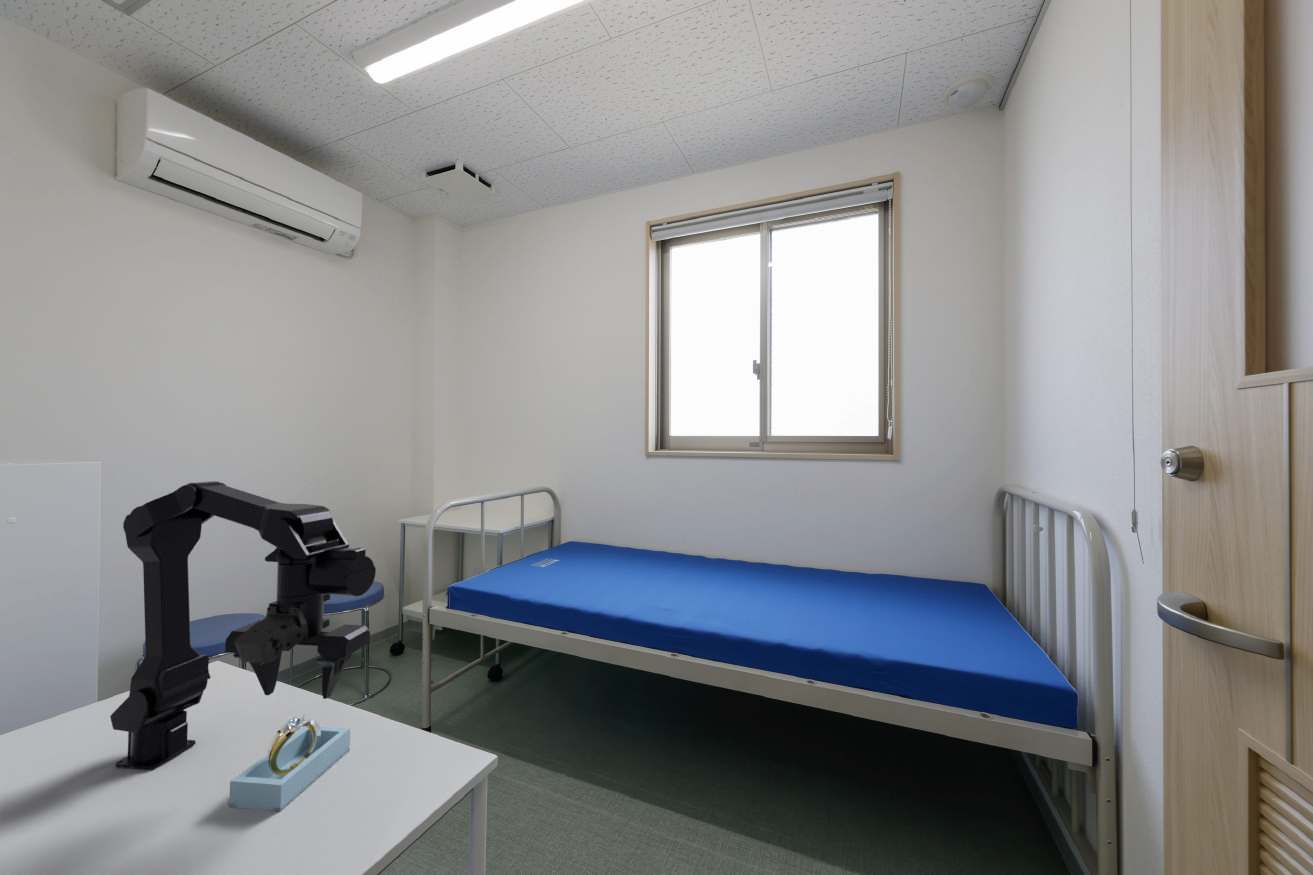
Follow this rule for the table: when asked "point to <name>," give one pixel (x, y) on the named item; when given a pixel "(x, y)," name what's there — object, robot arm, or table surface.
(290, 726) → the ring
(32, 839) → the table surface
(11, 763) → the table surface
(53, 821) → the table surface
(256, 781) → the box
